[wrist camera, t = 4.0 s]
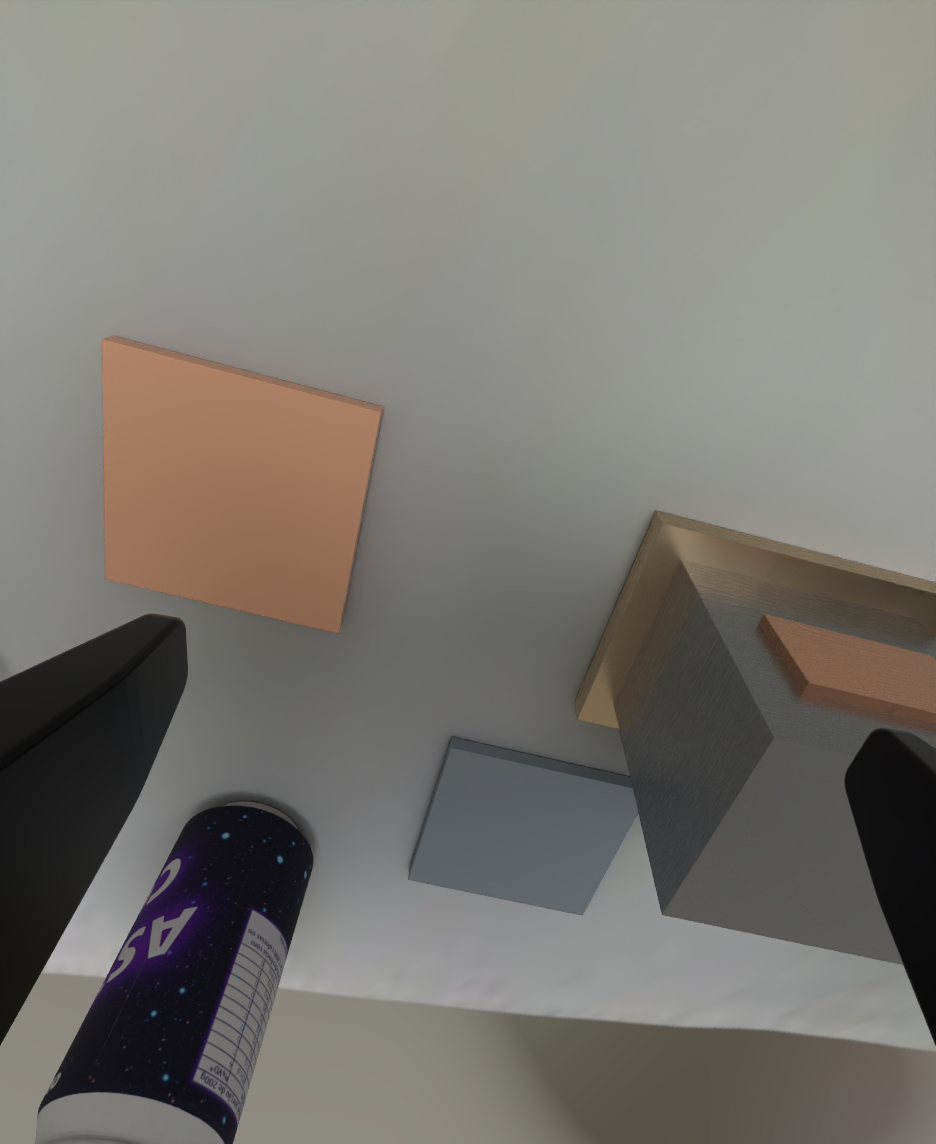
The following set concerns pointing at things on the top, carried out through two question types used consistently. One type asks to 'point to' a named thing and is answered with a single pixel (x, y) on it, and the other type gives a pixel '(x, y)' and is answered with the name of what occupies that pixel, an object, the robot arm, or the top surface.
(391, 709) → the top surface
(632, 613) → the grey unit
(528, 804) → the slate pad
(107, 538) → the terracotta pad
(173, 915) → the beverage can
